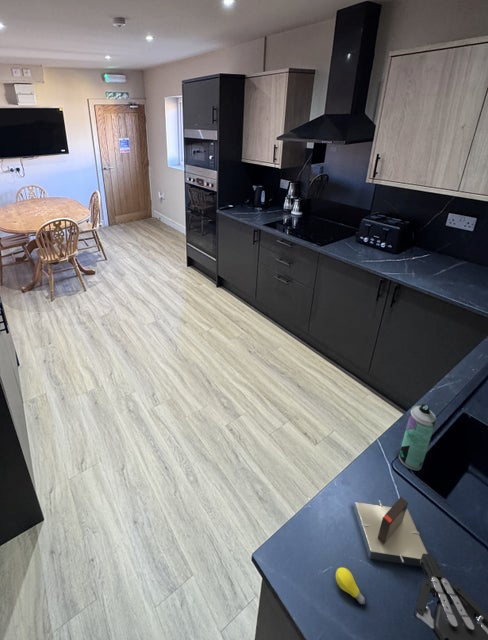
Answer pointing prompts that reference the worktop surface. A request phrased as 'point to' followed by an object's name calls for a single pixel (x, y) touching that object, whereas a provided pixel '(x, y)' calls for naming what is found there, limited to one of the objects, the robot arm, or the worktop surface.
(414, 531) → the panel
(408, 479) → the worktop surface
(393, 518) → the brown rectangular block
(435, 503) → the worktop surface
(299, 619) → the worktop surface
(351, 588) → the light bulb
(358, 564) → the worktop surface
